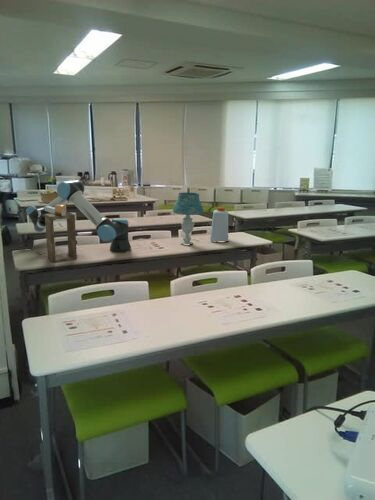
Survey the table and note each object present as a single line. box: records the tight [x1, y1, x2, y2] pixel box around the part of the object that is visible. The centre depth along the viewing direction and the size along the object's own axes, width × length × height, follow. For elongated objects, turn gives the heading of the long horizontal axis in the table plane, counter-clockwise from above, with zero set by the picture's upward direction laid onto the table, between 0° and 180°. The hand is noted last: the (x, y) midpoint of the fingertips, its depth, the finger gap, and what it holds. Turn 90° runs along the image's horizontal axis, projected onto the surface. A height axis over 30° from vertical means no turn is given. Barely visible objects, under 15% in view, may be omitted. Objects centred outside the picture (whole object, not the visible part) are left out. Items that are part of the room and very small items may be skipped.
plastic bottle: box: [209, 206, 229, 242], centre depth 304 cm, size 15×15×28 cm
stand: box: [45, 211, 78, 263], centre depth 241 cm, size 16×10×30 cm, turn 127°
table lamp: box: [172, 192, 204, 245], centre depth 288 cm, size 24×24×40 cm
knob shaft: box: [43, 204, 67, 216], centre depth 240 cm, size 7×22×6 cm, turn 48°
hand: (50, 211), depth 250 cm, fingers open, 13 cm apart
